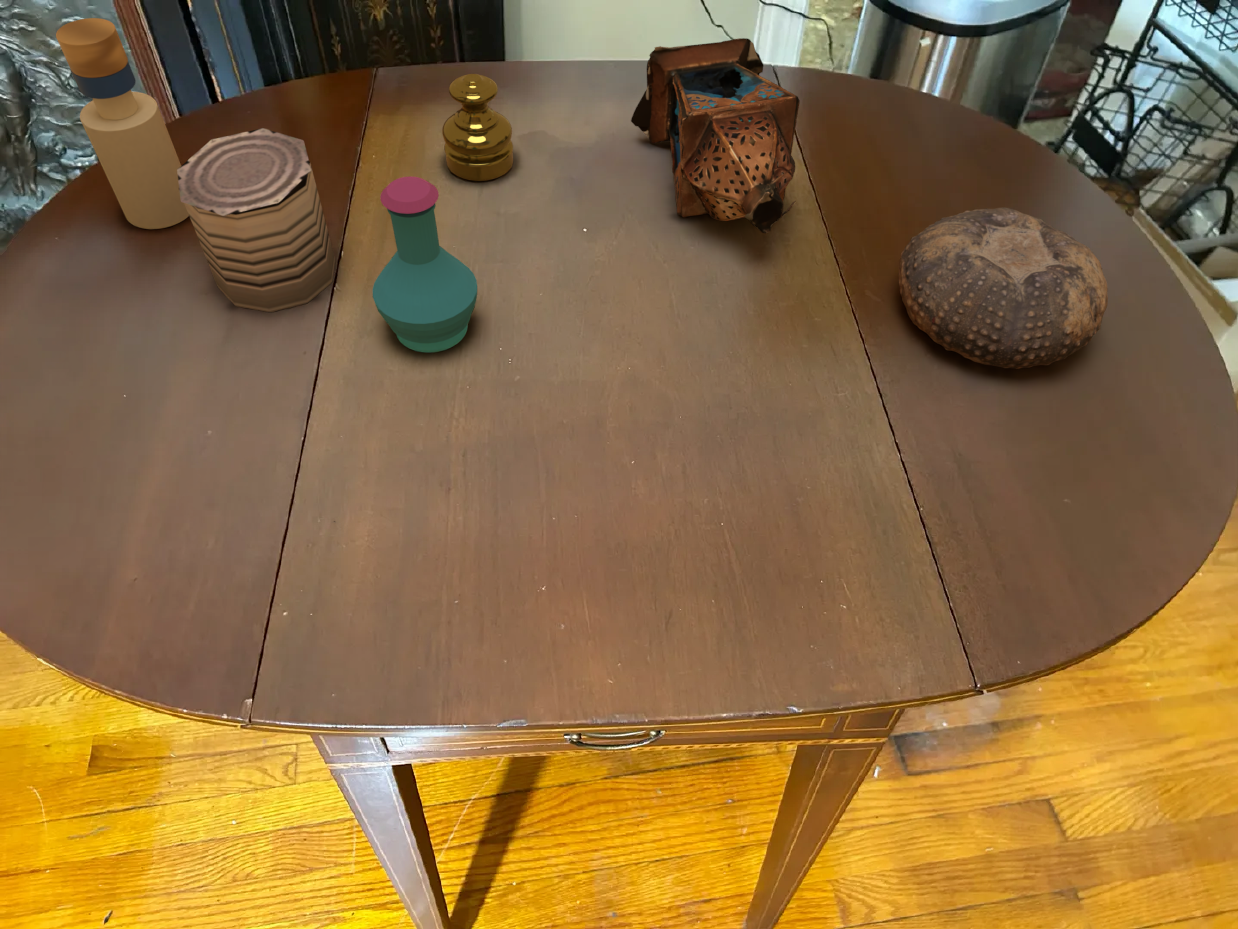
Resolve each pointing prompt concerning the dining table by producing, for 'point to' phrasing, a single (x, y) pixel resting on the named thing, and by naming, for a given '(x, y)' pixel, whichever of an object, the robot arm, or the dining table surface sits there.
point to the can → (259, 219)
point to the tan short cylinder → (92, 47)
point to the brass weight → (477, 132)
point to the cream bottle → (133, 149)
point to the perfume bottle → (422, 274)
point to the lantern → (721, 130)
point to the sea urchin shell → (1002, 288)
